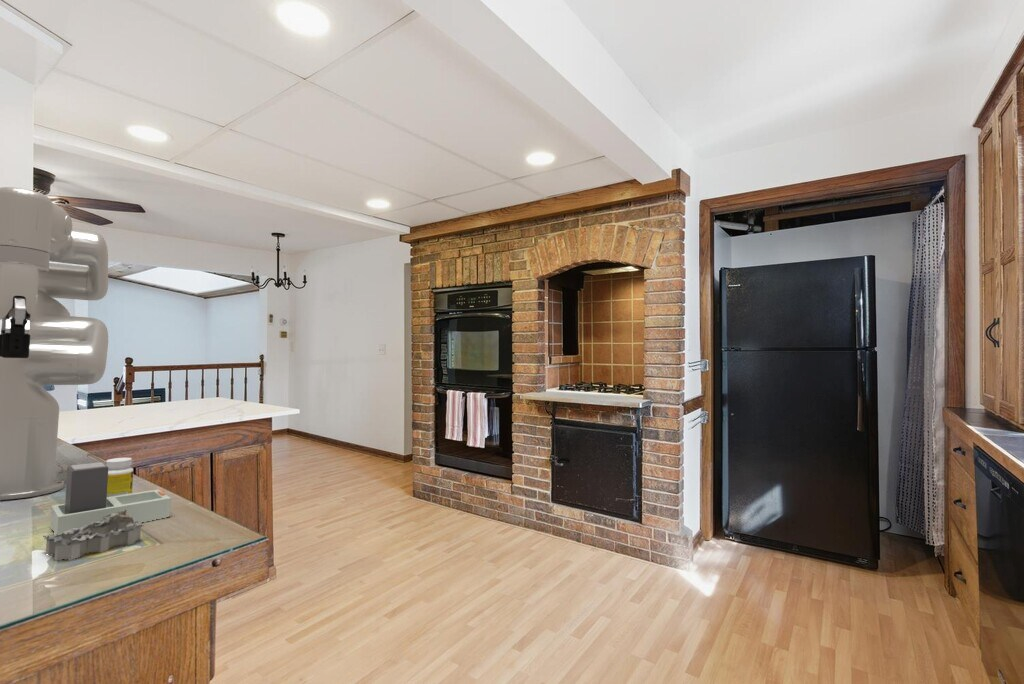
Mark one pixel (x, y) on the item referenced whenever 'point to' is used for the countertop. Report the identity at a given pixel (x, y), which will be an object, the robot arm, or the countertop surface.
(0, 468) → the robot arm
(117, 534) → the egg carton
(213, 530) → the countertop surface
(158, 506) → the power strip
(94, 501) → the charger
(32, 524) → the countertop surface
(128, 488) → the supplement bottle
